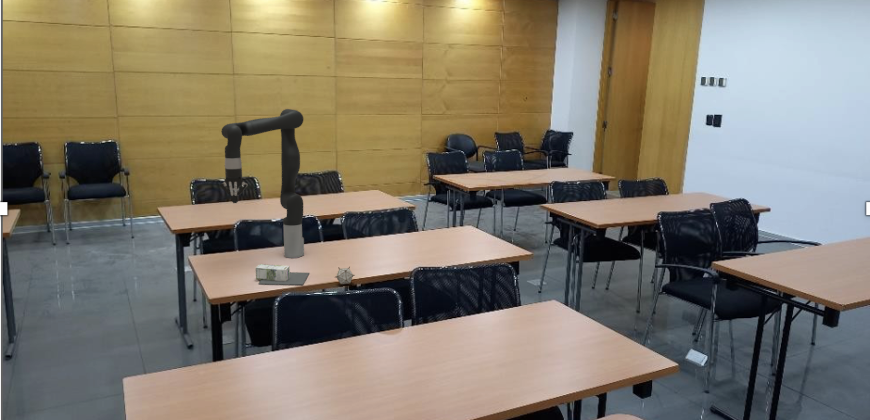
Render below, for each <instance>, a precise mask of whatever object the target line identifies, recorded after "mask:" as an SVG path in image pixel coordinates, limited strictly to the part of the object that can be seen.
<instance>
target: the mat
mask: <svg viewBox="0 0 870 420" xmlns="http://www.w3.org/2000/svg"><path fill="white" fill-rule="evenodd" d="M309 275H310V272H298V271H297V272H295V271H293V272H291V271H290V278H289V279H288V280H286V281H273V280H260V281H259V282H258V285H263V286H265V285H266V286H300V287H301V286H302V287H303V286H304V284H305V282H306V281H307V279H308V277H309Z"/></svg>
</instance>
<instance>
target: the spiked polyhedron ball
mask: <svg viewBox="0 0 870 420" xmlns="http://www.w3.org/2000/svg"><path fill="white" fill-rule="evenodd" d="M350 267H351V266H349V267H345V268H340V267H338V271H337V274H336V276H334V278H335V279H337V281H338V283H339V287H340V286H341V285H348V284H349V285H351V286H352V283H351V282H352V280H353V277H354V276H355V275H356V274H353V272H352V271H351V269H350Z"/></svg>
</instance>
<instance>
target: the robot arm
mask: <svg viewBox="0 0 870 420" xmlns="http://www.w3.org/2000/svg"><path fill="white" fill-rule="evenodd" d="M303 123H304V116H303V114H302V113H301V111H298V110H297V109H291V108H285V109H283V110H281V112H280V114H279V115H278V116H274V117H273V116H272V117H263V118H255V119H250V120H247V121H242V122H241V121H240V122H232V123H231V122H230V123H227V124H225V125H224V126H223V127H222V128H221V135H222V137H224V139H227V143H226V144H227V145H226V146H225V147H224V171H225V172H224V173H225V176H224V177H225V179H224V182H222V183H220V187H221V188H222V189H223V190H224V192H225V193H226V194H227V195H230V196H231V202H232V204H237V203H238V202H239V195H242V194H243V192H244V191H245V189H246V188H247V187H248V186H249V183H246V182H245V181H244V179H243V166H242V163H243V162H242V158H241V157H242V156H241V154H242V153H241V146H242V139H243V137H245V136H247V137H250V136H255V135H259V134H263V133H267V132H272V131H278V130H280V137H281V138H280V139H281V142H280V143H281V144H280V145H281V146H280V147H281V148H280V149H281V151H280V152H281V153H280V154H281V155H280V158H281V159H280V160H281V162H280V163H281V164H280V165H281V166H280V167H281V186H280V196H279V200H280V201H279V202H280V206H281V207H282V208H283V209H284V210H286V217H284V218H283V244H284V246H283V250H284V251H283V252H284V253H283V254H284V255H283V256H284V257H285V258H288V259H296V258H301V257H303V256H305V244H304V243H305V237H303V226H302V225H303V218H304V199H303V197H302V196H301V195H300V194H298V193H296V187H295V186H296V181H297V180H296V179H297V178H298V175H299V171H300V170H301V169H300V168H301V153H300V150H299V146H298V143H297V140H296V129H298V128H300V127H301V126H302V125H303ZM240 187H241V188H240Z"/></svg>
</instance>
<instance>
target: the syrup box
mask: <svg viewBox="0 0 870 420" xmlns="http://www.w3.org/2000/svg"><path fill="white" fill-rule="evenodd" d="M290 272H291V271H290V265H282V264H281V265H279V264H266V263H265V264H263V263H260V264H258V265H257V266H255V279H256V280H260V281H261V280H273V281H286V280H288V279H289V278H290Z"/></svg>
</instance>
